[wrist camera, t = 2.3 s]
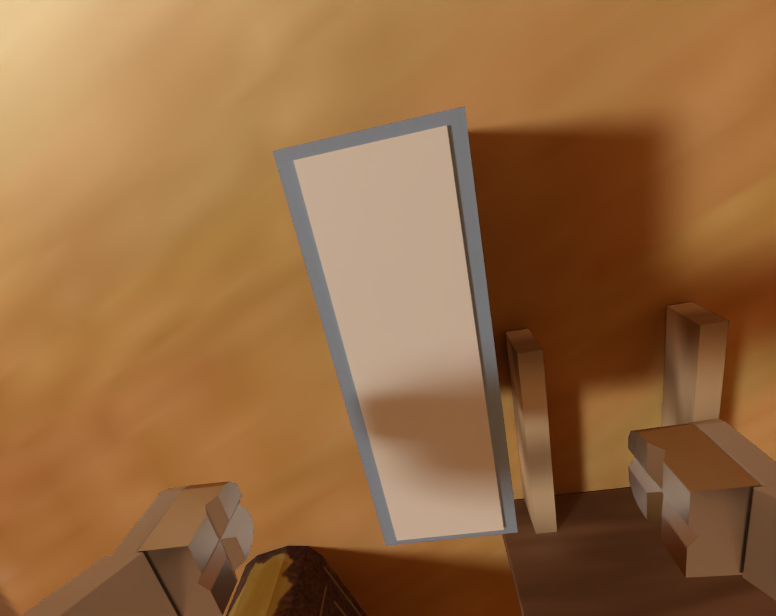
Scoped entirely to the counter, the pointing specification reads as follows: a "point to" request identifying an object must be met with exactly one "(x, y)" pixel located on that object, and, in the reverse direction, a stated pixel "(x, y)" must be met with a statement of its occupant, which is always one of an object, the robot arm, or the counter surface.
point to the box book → (408, 320)
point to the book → (292, 587)
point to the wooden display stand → (614, 500)
